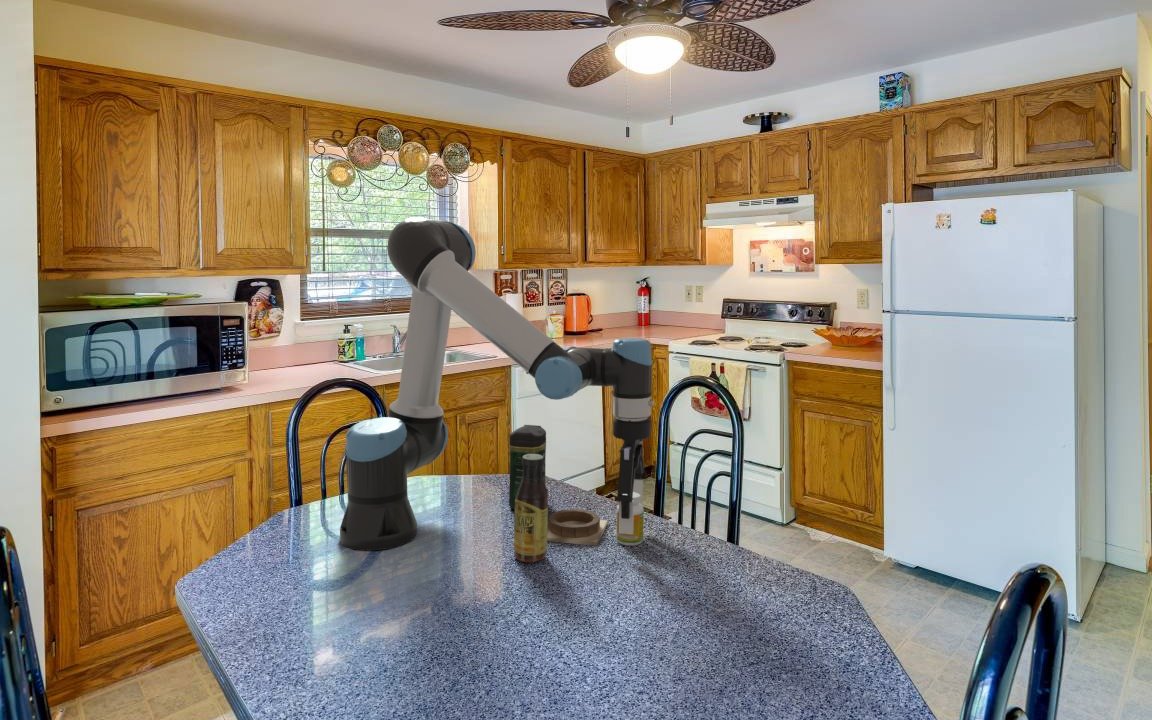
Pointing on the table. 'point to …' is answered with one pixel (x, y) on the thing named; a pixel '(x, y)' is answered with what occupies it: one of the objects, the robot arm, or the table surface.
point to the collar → (575, 527)
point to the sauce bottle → (531, 512)
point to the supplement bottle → (637, 524)
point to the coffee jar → (520, 444)
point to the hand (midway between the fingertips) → (631, 520)
